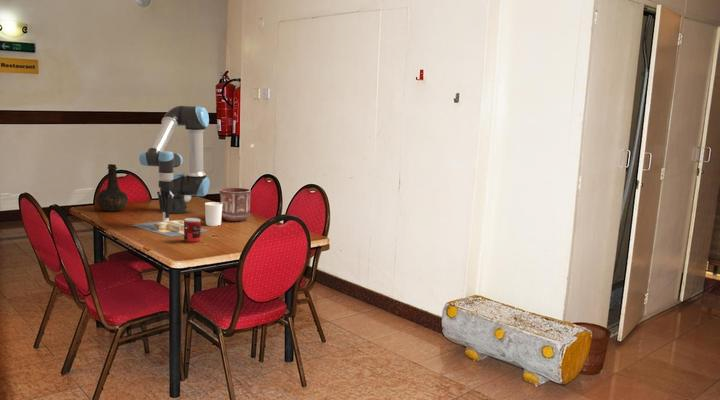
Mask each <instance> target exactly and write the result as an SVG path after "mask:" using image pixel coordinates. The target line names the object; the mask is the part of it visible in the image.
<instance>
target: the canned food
mask: <svg viewBox="0 0 720 400" xmlns="http://www.w3.org/2000/svg"><path fill="white" fill-rule="evenodd" d="M183 221H184V235H183V241H184V242H185V243H189V244H190V243H193V244H194V243H199V242H200V241H201V236H202V235H201V233H202V232H201V226H202V224H201V219H200V218H197V217H187V218H184V220H183Z"/></svg>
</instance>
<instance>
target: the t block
mask: <svg viewBox="0 0 720 400" xmlns="http://www.w3.org/2000/svg"><path fill="white" fill-rule="evenodd" d="M154 229H156V230H166V229H170V230H173V231H177V232H184V220H182V219H175V220H172V221H167V222H160V223H154Z"/></svg>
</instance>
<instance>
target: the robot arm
mask: <svg viewBox="0 0 720 400" xmlns="http://www.w3.org/2000/svg"><path fill="white" fill-rule="evenodd" d="M209 122H210V118H209V112H208V111H207V108H205V107H203V106H194V105H193V106H192V105H176V106H175V107H173V108H171V109H169V110H168V111H167V112H166V113H165V114H164V116H163V117H162V119H161V124H160V127H159V129H158V130H157V132H156V134H155V135H154V138H153V140H152V142H151V144H150V145H149V148H148V149H147V151H142V152H141V153H140V154H139V163H140V165H142V166H145V167H158V188H159V191H157V192H156V194H157V196H158V203H159V204H158V205H159V210H160V211H161V212H162V221H163V222H167V221H169V220H170V214H183V213H187V212H188V206H187V202H186V203H185V199H184V195H189V196H191V197H205V196H206V195H207V194H208V192H209V189H210V186H211V185H210V184H211V181H210V177H207V173H206V172H205V171H204V132H205V131H206V128H207V127H208V126H209V124H210V123H209ZM179 126H184V128H185V131H187V138H188V139H187V140H188V172H187V173H186V174H185V173H183V172H182V173H174V169H175V168H178V167H180V166H181V165H183V162H184V160H183V159H184V158H183V156H182V155H181V154H180V153H175V152H173V151H167V150H166V151H165V149H166V147H167V144H168V143H169V140H170V139H171V137H172V135H173V133H174V131H175V130H176V129H177V128H179Z"/></svg>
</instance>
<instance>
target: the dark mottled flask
mask: <svg viewBox="0 0 720 400" xmlns="http://www.w3.org/2000/svg"><path fill="white" fill-rule="evenodd" d="M106 169H108V170H107V171H108V172H107V183H106V188H105V189H103V190H101V191H99V192H98V194H97V196H96V205H97V206H98V207H99V208H100V210H102V211H104V212H108V213H109V212H111V213H112V212H119V211H122V210H124V209H125V208H126V206H127V205H128V202H129V197H128V194H126V193H125V192H124V191H122V190H121V189H120V188H119V183H118V176H117V169H118V167H117V165H116V164H114V163H113V164H112V163H110V164H108V165H107V168H106Z"/></svg>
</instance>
